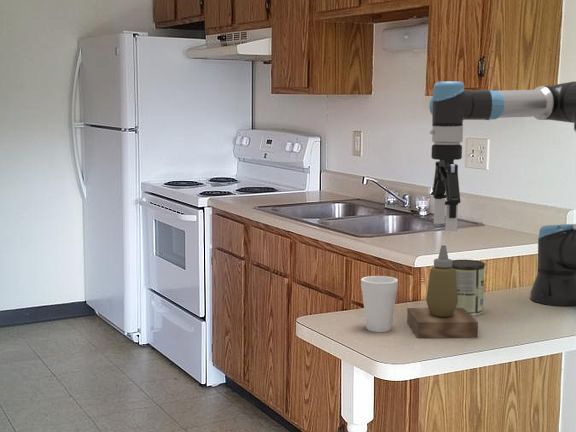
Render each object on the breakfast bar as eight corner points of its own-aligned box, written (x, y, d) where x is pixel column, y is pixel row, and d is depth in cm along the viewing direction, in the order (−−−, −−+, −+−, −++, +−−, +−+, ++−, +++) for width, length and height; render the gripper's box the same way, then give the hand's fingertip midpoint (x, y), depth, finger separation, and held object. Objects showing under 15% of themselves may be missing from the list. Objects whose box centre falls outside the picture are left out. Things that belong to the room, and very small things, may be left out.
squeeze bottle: (431, 309, 211) (433, 242, 209) (461, 313, 207) (463, 244, 205) (421, 316, 204) (423, 246, 202) (452, 320, 200) (454, 249, 198)
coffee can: (444, 306, 231) (445, 259, 230) (480, 307, 230) (482, 259, 229) (448, 315, 221) (449, 265, 219) (485, 316, 220) (487, 266, 218)
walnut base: (462, 322, 214) (463, 307, 213) (477, 337, 199) (478, 322, 198) (407, 322, 213) (407, 308, 213) (417, 338, 198) (418, 322, 198)
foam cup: (395, 334, 202) (396, 284, 200) (359, 332, 203) (359, 282, 202) (397, 325, 211) (398, 276, 209) (362, 323, 213) (363, 275, 211)
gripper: (422, 142, 213) (420, 220, 215) (443, 145, 188) (441, 234, 191) (450, 142, 213) (448, 220, 216) (474, 145, 188) (472, 234, 191)
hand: (444, 227), depth 203 cm, fingers open, 13 cm apart
